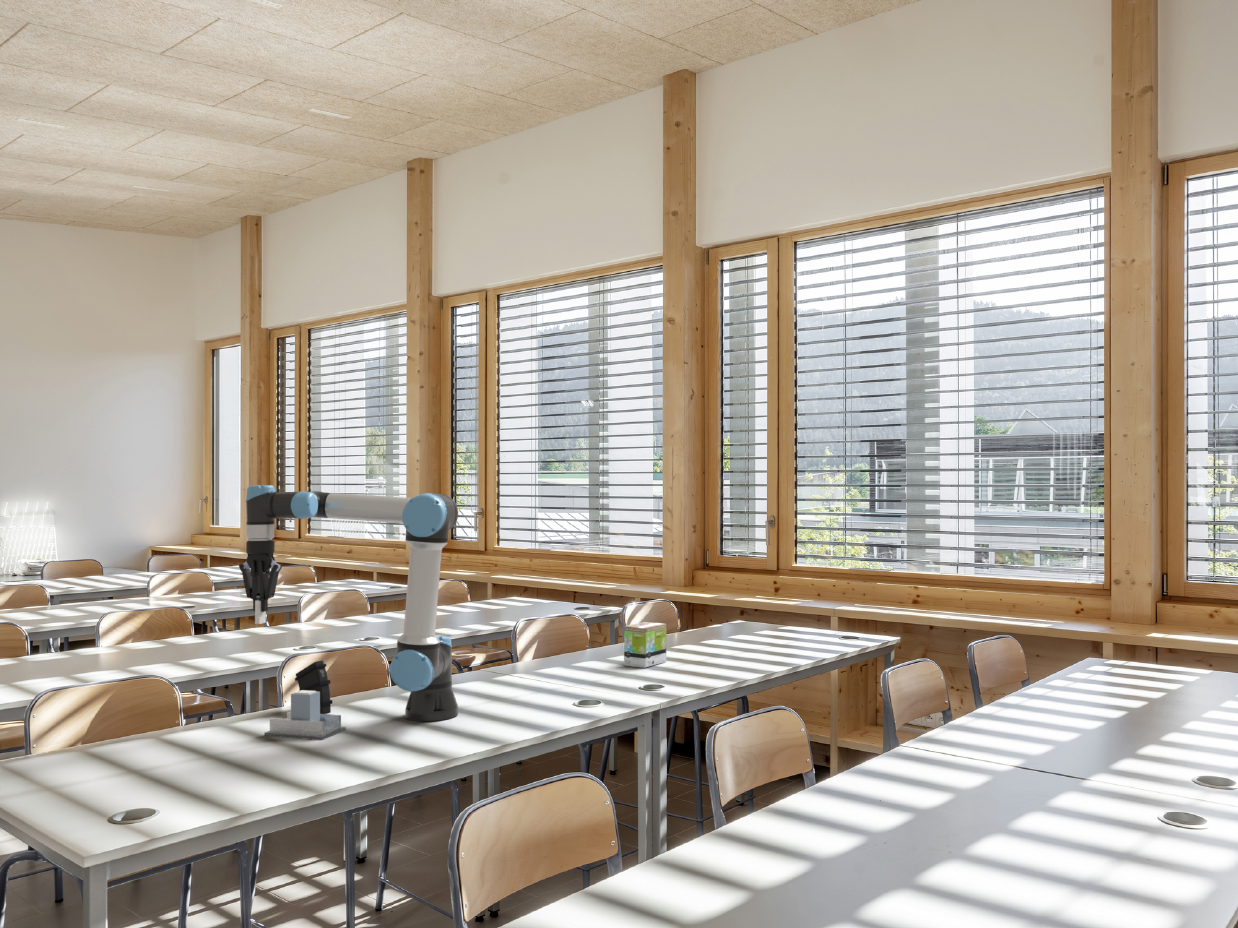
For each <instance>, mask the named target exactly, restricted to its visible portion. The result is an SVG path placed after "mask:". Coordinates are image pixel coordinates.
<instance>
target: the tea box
mask: <svg viewBox="0 0 1238 928" xmlns="http://www.w3.org/2000/svg"><path fill="white" fill-rule="evenodd" d="M623 630H624V631H623V632H624V634H623V643H624V644H623V666H626V667H633V668H643V669H644V668H645V669H647V667H651V666H655V665H656V666H657V665H658V664H663V663H667V623H663V622H662V623H661V622H649V621H648V622H647V621H644V622H639V623H638V622H637V623H635V624H629V625H624V628H623Z"/></svg>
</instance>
